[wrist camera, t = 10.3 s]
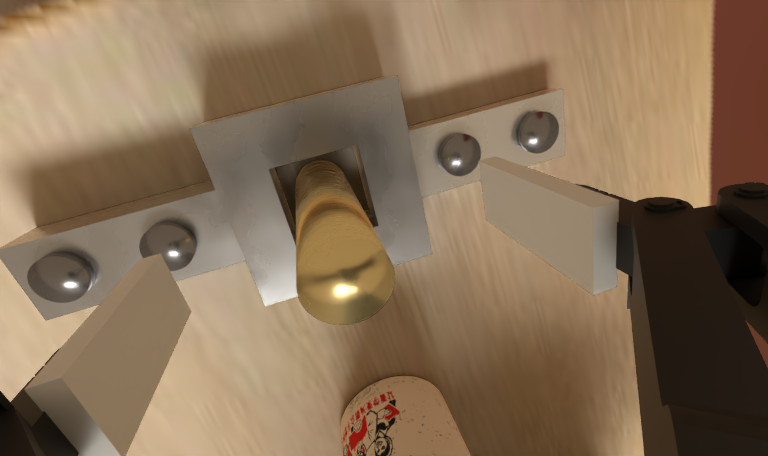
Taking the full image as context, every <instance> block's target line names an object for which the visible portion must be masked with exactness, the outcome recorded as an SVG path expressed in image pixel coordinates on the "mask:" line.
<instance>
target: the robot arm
mask: <svg viewBox="0 0 768 456" xmlns="http://www.w3.org/2000/svg"><path fill="white" fill-rule="evenodd" d="M479 169H480V177H481V185H482V192H483V200H484V208H485V216H486V220H487V221H488V222H490V223H491V224H493V225H494V226H495V227H497V228H498V229H500V230H501V231H502V232H504V233H505V234H507V235H508V236H510V237H511V238H512V239H514V240H515V241H517V242H518V243H520V244H521V245H522V246H524V247H525V248H527V249H528V250H529V251H531V252H532V253H534V254H535V255H537V256H538V257H539V258H541V259H542V260H544V261H545V262H547V263H548V264H549V265H551V266H552V267H554V268H555V269H557V270H558V271H559V272H561V273H562V274H564V275H565V276H566V277H568V278H569V279H571V280H572V281H574V282H575V283H576V284H578V285H579V286H581V287H582V288H584V289H585V290H586V291H588V292H589V293H591V294H592V295H596V294H599V293H602V292H605V291H607V290H610V289H613V288H616V287H617V269H619V270H621V271H623V272H624V273H626V274H628V275H629V276H628V300H627V309H630V312H631V322H632V332H633V342H634V353H635V363H636V373H637V384H638V394H639V404H640V414H641V425H642V435H643V445H644V456H768V368H767V366H766V364H765V362H764V360H763V357H762V355H761V353H760V351H759V349H758V347H757V345H756V342H755V340H754V338H753V336H752V334H751V332H750V330H749V327H748V325H747V323H746V321H747V322H748V323H749V324H750V325H751V326H752V327H753V328H754V330H755V331H756V332H757V333H758V334H759V335H760V336H761V337H762V338H763V339H764V340H765V341H766V342H767V343H768V185H765V184H764V183H754V182H750V183H749V182H748V183H745V184H735V185H730V186H726V187H723V188H721V189H720V190H719V192H718V196H717V203H716V205H714V206H707V207H700V208H693V206H692V205H691V204H689V203H688V202H686V201H683V200H681V199H675V198H668V197H654V198H646V199H642V200H638V201H637V202H633V201H630V200H627V199H624V198H621V197H618V196H616V195H613V194H608V193H607V192H604V191H601V190H600V191H599V190H598V189H595V188H592V187H589V186H586V185H578V184H573V183H570V182H567V181H564V180H561V179H558V178H556V177H553V176H550V175H547V174H544V173H541V172H539V171H536V170H533V169H530V168H527V167H524V166H522V165H519V164H516V163H513V162H510V161H507V160H505V159H502V158H499V157H496V156H494V157H490V158H487V159H484V160H480V161H479ZM190 313H191V310H190V308H189V306H188V304H187V302H186V301H185V299H184V297H183V295H182V293H181V291H180V289H179V287H178V285H177V284H176V282H175V280H174V278H173V276H172V274H171V272H170V270H169V268H168V266H167V265H166V263H165V261H164V259H163V257H162V255H161V253H159V254H156V255H153V256H149V257H146V258H142V259H140V260H139V261H138V262H137V263H136V264H135V265H134V266H133V267H132V269H131V270H130V271H129V272H128V273H127V274H126V275H125V276H124V278H123V279H122V280H121V281H120V282H119V283H118V284H117V285H116V287H115V288H114V289H113V290H112V291H111V292H110V293H109V294H108V296H107V297H106V298H105V299H104V300H103V301H102V302H101V303H100V305H99V306H98V307H97V308H96V309H95V310H94V311H93V312H92V314H91V315H90V316H89V317H88V318H87V319H86V320H85V321H84V323H83V324H82V325H81V326H80V327H79V328H78V329H77V330H76V332H75V333H74V334H73V335H72V336H71V337H70V338H69V339H68V341H67V342H66V343H65V344H64V345H63V346H62V347H61V348H60V349H58V350H57V351H56V352H55V353H54V354H53V355H52V356H51V358H50V359H49V360H48V361H47V362H46V363H45V366H43V367H42V368H41V369H40V370H39V371H38V372H37V373H36V374H35V377H33V378H32V379H31V380H30V381H29V382H28V383H27V384H26V386H25V387H24V388H23V389H22V390H21V391H20V392H19V393H18V394H17V396H16V397H15V398H14V399H13V400H12V401H11V402H9V400H8V399H7V398H6V397H5V396H4V395H3V393H2V392H1V391H0V456H78V455H79V456H126V454H127V452H128V449H129V447H130V445H131V443H132V441H133V438H134V436H135V434H136V432H137V430H138V427H139V425H140V423H141V421H142V419H143V416H144V414H145V412H146V410H147V408H148V405H149V403H150V401H151V399H152V397H153V394H154V392H155V390H156V388H157V386H158V384H159V381H160V379H161V377H162V375H163V373H164V370H165V368H166V366H167V364H168V362H169V359H170V357H171V355H172V353H173V351H174V348H175V346H176V344H177V342H178V340H179V337H180V335H181V333H182V331H183V329H184V326H185V324H186V322H187V320H188V318H189V315H190ZM745 320H746V321H745Z"/></svg>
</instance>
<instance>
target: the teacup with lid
mask: <svg viewBox="0 0 768 456" xmlns="http://www.w3.org/2000/svg"><path fill="white" fill-rule="evenodd" d="M340 431H341V439H342V447H343V455H344V456H471V455H470V453H469V450H468V448H467V446H466V444H465V442H464V440H463V438H462V436H461V434H460V432H459V429H458V427H457V425H456V423H455V421H454V419H453V417H452V415H451V413H450V410H449V408H448V406H447V404H446V402H445V400H444V398H443V396H442V394H441V393H440V391H439V390H438V389H437V388H436V387H435V386H434V385H433V384H432V383H430V382H428V381H426V380H424V379H422V378H418V377H413V376H395V377H390V378H386V379H383V380H380V381H378V382H375V383H373V384H371V385H370V386H368V387H366V388H365V389H363V390H362V391H361V392H360V393H358V394H357V395H356V396H355V397H354V398H353V400H352V401H351V402H350V403H349V405H348V406H347V408H346V410H345V412H344V414H343V417H342V420H341V428H340Z"/></svg>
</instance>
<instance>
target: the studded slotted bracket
mask: <svg viewBox="0 0 768 456" xmlns="http://www.w3.org/2000/svg"><path fill="white" fill-rule="evenodd" d="M189 129H190V132H191V134H192V136H193V139H194V141H195V143H196V146H197V148H198V150H199V153H200V155H201V157H202V160H203V162H204V164H205V167H206V169H207V171H208V174H209V176H210V178H211V180H210V181H206V182H202V183H199V184H195V185H191V186H188V187H184V188H180V189H177V190H173V191H169V192H166V193H162V194H158V195H155V196H151V197H147V198H143V199H140V200H136V201H132V202H129V203H125V204H121V205H118V206H114V207H110V208H107V209H103V210H99V211H96V212H92V213H88V214H85V215H81V216H77V217H74V218H70V219H66V220H63V221H59V222H55V223H51V224H48V225H44V226H40V227H37V228H35V229H33V230H31V231H29V232H27V233H26V234H24V235H22V236H20V237H19V238H17V239H15V240H13V241H11V242H10V243H8V244H6V245H4V246H3V247H1V248H0V259H1V260H2V262H3V263H4V264H5V266H6V267H7V268H8V270H9V271H10V272H11V274H12V275H13V277H14V278H15V279H16V281H17V282H18V283H19V285H20V286H21V287H22V289H23V290H24V292H25V293H26V294H27V296H28V297H29V298H30V300H31V301H32V303H33V304H34V305H35V307H36V308H37V309H38V311H39V312H40V313H41V315H42V316H43V318H44V319H45V320H50V319H53V318H56V317H60V316H63V315H66V314H70V313H73V312H76V311H80V310H83V309H86V308H90V307H93V306H96V305H100V303H101V302H102V301H103V300H104V299H105V298H106V297H107V296H108V294H109V293H110V292H111V291H112V290H113V289H114V288H115V287H116V285H117V284H118V283H119V282H120V281H121V280H122V279H123V278H124V276H125V275H126V274H127V273H128V272H129V271H130V270H131V269H132V267H133V266H134V265H135V264H136V263H137V262H138V261H139V260H140V259H142V258H146V257H149V256H153V255H156V254H159V253H161V255H162V257H163V259H164V261H165V263H166V265H167V266H168V268H169V270H170V272H171V274H172V276H173V278H174V280H175V282H176V281H179V280H183V279H186V278H189V277H193V276H196V275H199V274H203V273H206V272H209V271H213V270H216V269H219V268H223V267H226V266H229V265H233V264H236V263H239V262H243V261H246V262H247V264H248V267H249V269H250V271H251V274H252V276H253V278H254V281H255V283H256V285H257V288H258V290H259V292H260V295H261V297H262V299H263V302H264V304H265V306H268V305H272V304H275V303H278V302H281V301H284V300H287V299H291V298H294V297H297V296H298V294H297V289H296V226H295V223H294V220H293V217H292V215H291V212H290V209H289V206H288V203H287V200H286V198H285V195H284V192H283V189H282V186H281V183H280V180H279V178H278V175H277V172H276V169H275V167H278V166H282V165H286V164H289V163H293V162H297V161H300V160H304V159H307V158H311V157H315V156H318V155H322V154H326V153H329V152H333V151H337V150H340V149H344V148H348V147H351V146H352V147H353V150H354V154H355V158H356V162H357V166H358V170H359V173H360V177H361V181H362V185H363V189H364V193H365V196H366V200H367V204H368V208H369V209H368V210H365V211H364V212H365V214H366V215H367V217H368V219H369V221H370V223H371V225H372V226H373V228H374V230H375V232H376V234H377V236H378V237H379V239H380V241H381V243H382V245H383V247H384V248H385V250H386V252H387V254H388V256H389V258H390V260H391V262H392V264H393V266H395V265H398V264H401V263H404V262H407V261H411V260H414V259H417V258H420V257H423V256H426V255H430V254H432V248H431V243H430V238H429V233H428V228H427V223H426V218H425V213H424V208H423V202H422V198H423V197H426V196H430V195H433V194H436V193H440V192H443V191H446V190H450V189H453V188H457V187H460V186H463V185H467V184H470V183H473V182H477V181H480V180H481V177H480V169H479V161H480V160H484V159H487V158H490V157H494V156H496V157H499V158H502V159H505V160H507V161H510V162H513V163H516V164H519V165H522V166H524V167H527V166H531V165H534V164H537V163H541V162H544V161H548V160H551V159H554V158H558V157H561V156H564V155H565V124H564V89H545V90H541V91H537V92H534V93H530V94H526V95H522V96H519V97H515V98H511V99H508V100H504V101H500V102H497V103H493V104H489V105H486V106H482V107H478V108H475V109H471V110H467V111H464V112H460V113H456V114H453V115H449V116H445V117H442V118H438V119H434V120H430V121H427V122H423V123H419V124H416V125H412V126H407V121H406V116H405V111H404V106H403V100H402V95H401V90H400V85H399V80H398V76H385V77H381V78H377V79H373V80H369V81H365V82H361V83H357V84H353V85H349V86H345V87H341V88H337V89H333V90H329V91H325V92H321V93H317V94H313V95H309V96H305V97H301V98H298V99H294V100H290V101H286V102H282V103H278V104H274V105H270V106H266V107H262V108H258V109H254V110H250V111H246V112H242V113H238V114H234V115H230V116H226V117H222V118H219V119H215V120H211V121H207V122H203V123H201V124H198V125H196V126H194V127H192V128H189Z"/></svg>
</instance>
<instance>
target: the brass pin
mask: <svg viewBox="0 0 768 456" xmlns="http://www.w3.org/2000/svg"><path fill="white" fill-rule="evenodd" d="M394 283H395V272H394V267H393V264H392V262H391V260H390V258H389V256H388V254H387V252H386V250H385V248H384V247H383V245H382V243H381V241H380V239H379V237H378V236H377V234H376V232H375V230H374V228H373V226H372V225H371V223H370V221H369V219H368V217H367V215H366V214H365V212H364V210H363V208H362V206H361V204H360V202H359V201H358V199H357V197H356V195H355V193H354V191H353V190H352V188H351V186H350V184H349V182H348V180H347V179H346V177H345V175H344V173H343V171H342V170H341V169H340V168H339V167H338V166H337V165H335V164H334V163H332V162H329V161H325V160H317V161H313V162H310V163H308V164H307V165H305V166H304V167H303V168H302V169H301V170H300V172H299V173H298V176H297V178H296V289H297V294H298V298H299V300H300V302H301V304H302V306H303V307H304V308H305V310H306V311H307V312H308V313H309V314H311V315H312V316H313V317H315V318H316V319H318V320H320V321H322V322H325V323H329V324H334V325H349V324H354V323H358V322H361V321H364V320H366V319H368V318H370V317H371V316H373V315H374V314H376V313H377V312H378V311H379V310H380V309H381V308H382V307H383V306H384V305H385V304H386V302H387V301H388V299H389V298H390V296H391V294H392V291H393V288H394Z"/></svg>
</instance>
